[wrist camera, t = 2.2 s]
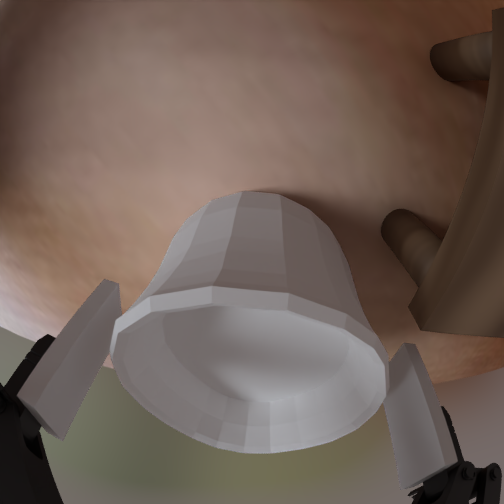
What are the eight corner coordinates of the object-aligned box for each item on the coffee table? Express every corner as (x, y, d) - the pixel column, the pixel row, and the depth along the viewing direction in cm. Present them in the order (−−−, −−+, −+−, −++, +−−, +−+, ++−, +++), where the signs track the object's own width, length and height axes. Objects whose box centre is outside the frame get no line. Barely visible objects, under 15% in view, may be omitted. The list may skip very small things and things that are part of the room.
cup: (293, 340, 20) (298, 464, 11) (163, 289, 18) (104, 410, 10) (371, 234, 15) (449, 360, 7) (212, 156, 14) (122, 232, 5)
